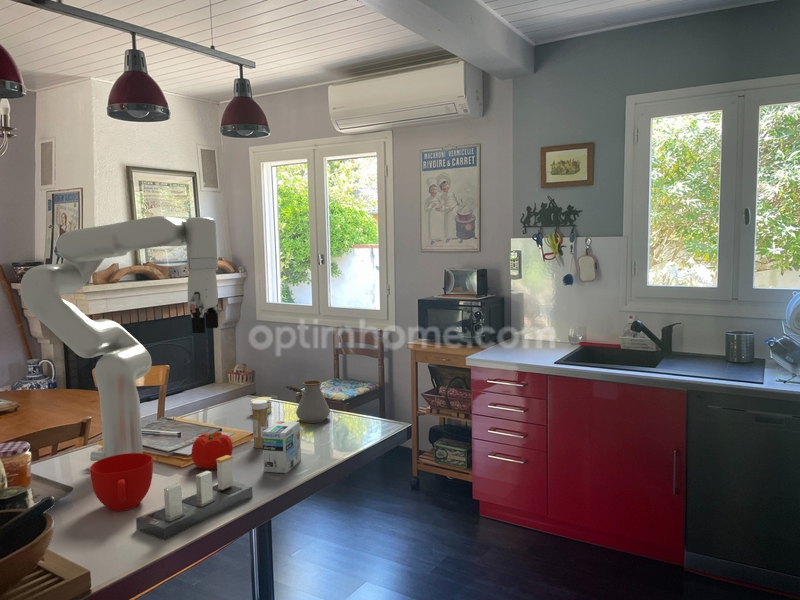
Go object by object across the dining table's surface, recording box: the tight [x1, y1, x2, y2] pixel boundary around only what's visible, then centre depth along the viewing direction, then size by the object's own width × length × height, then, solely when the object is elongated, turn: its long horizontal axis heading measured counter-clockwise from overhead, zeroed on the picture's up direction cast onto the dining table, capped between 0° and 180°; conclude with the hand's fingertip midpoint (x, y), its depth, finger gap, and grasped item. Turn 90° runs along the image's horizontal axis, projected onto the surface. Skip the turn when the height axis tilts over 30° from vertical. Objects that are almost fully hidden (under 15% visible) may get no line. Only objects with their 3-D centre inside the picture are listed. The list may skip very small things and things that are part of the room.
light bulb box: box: [262, 420, 302, 474], centre depth 159 cm, size 11×7×11 cm, turn 168°
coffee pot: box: [282, 380, 331, 424], centre depth 197 cm, size 21×12×15 cm, turn 157°
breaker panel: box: [135, 470, 253, 541], centre depth 131 cm, size 24×9×9 cm, turn 148°
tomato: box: [191, 431, 234, 470], centre depth 160 cm, size 11×11×9 cm
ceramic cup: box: [89, 452, 154, 512], centre depth 134 cm, size 13×17×10 cm
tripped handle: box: [216, 455, 233, 490], centre depth 138 cm, size 3×2×7 cm, turn 148°
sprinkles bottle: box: [251, 400, 269, 449], centre depth 175 cm, size 5×5×14 cm
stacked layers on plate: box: [250, 396, 273, 415], centre depth 210 cm, size 10×9×6 cm
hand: (205, 330), depth 157 cm, fingers open, 9 cm apart
